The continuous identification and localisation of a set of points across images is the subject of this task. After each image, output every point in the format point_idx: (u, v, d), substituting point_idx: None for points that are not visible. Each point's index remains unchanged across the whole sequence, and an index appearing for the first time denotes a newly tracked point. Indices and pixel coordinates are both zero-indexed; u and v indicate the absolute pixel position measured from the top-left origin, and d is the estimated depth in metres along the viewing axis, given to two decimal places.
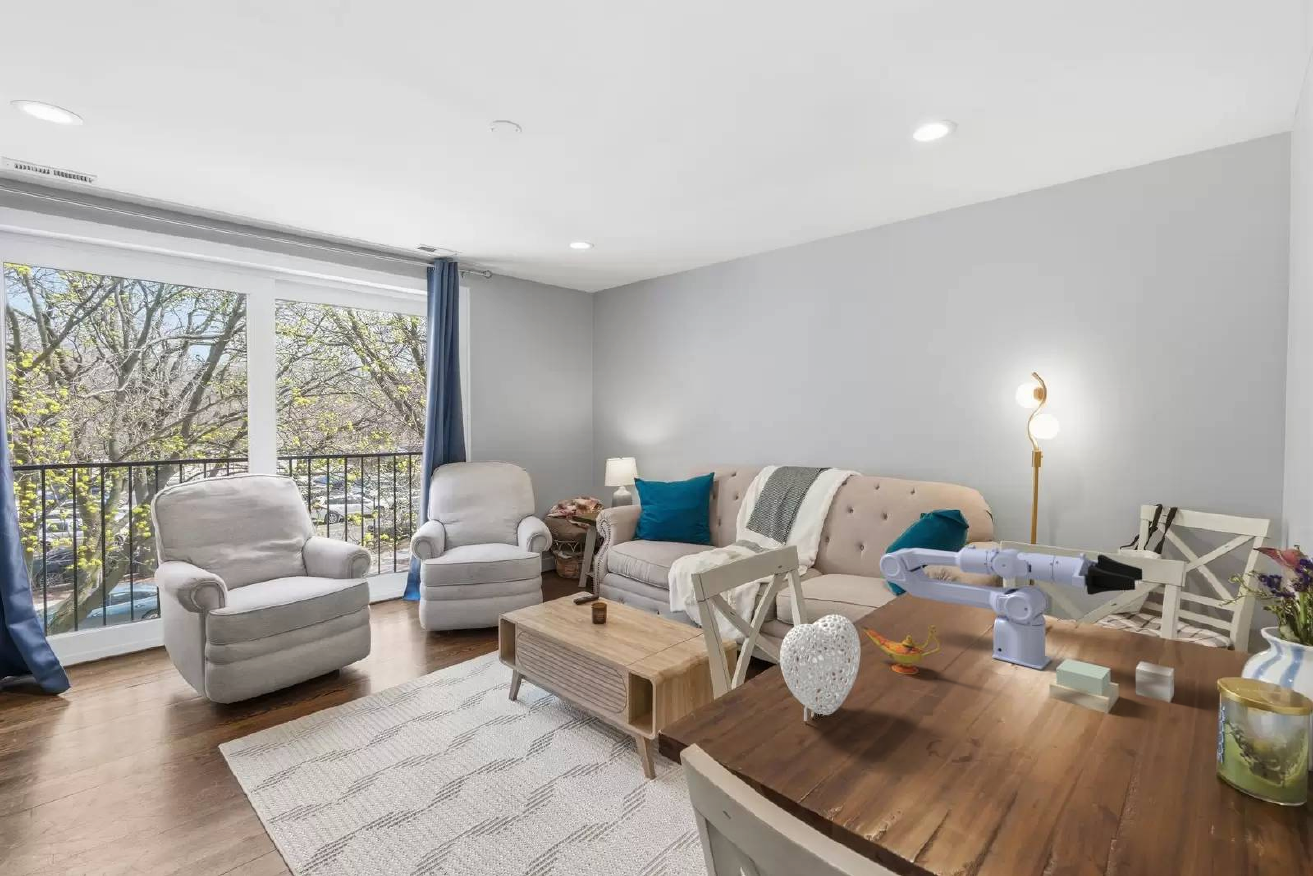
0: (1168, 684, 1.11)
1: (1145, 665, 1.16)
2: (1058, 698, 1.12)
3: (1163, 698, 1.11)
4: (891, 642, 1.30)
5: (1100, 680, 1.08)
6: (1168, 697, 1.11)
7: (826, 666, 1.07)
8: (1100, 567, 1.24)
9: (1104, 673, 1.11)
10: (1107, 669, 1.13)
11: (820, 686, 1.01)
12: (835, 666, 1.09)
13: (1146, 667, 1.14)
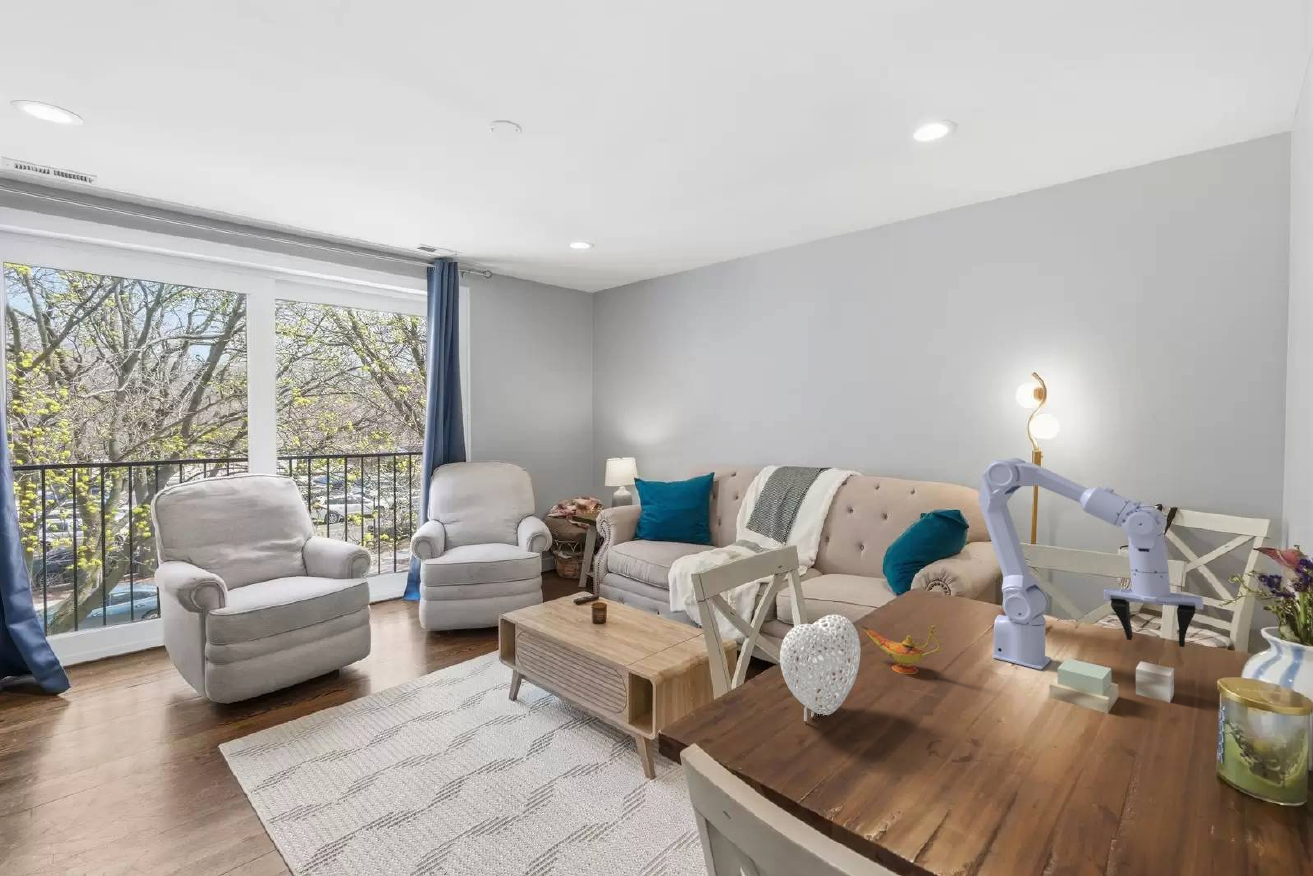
0: (1168, 684, 1.11)
1: (1145, 665, 1.16)
2: (1058, 698, 1.12)
3: (1163, 698, 1.11)
4: (891, 642, 1.30)
5: (1101, 680, 1.09)
6: (1168, 697, 1.11)
7: (826, 666, 1.07)
8: None
9: (1105, 673, 1.11)
10: (1108, 669, 1.13)
11: (820, 686, 1.01)
12: (835, 666, 1.09)
13: (1146, 668, 1.14)
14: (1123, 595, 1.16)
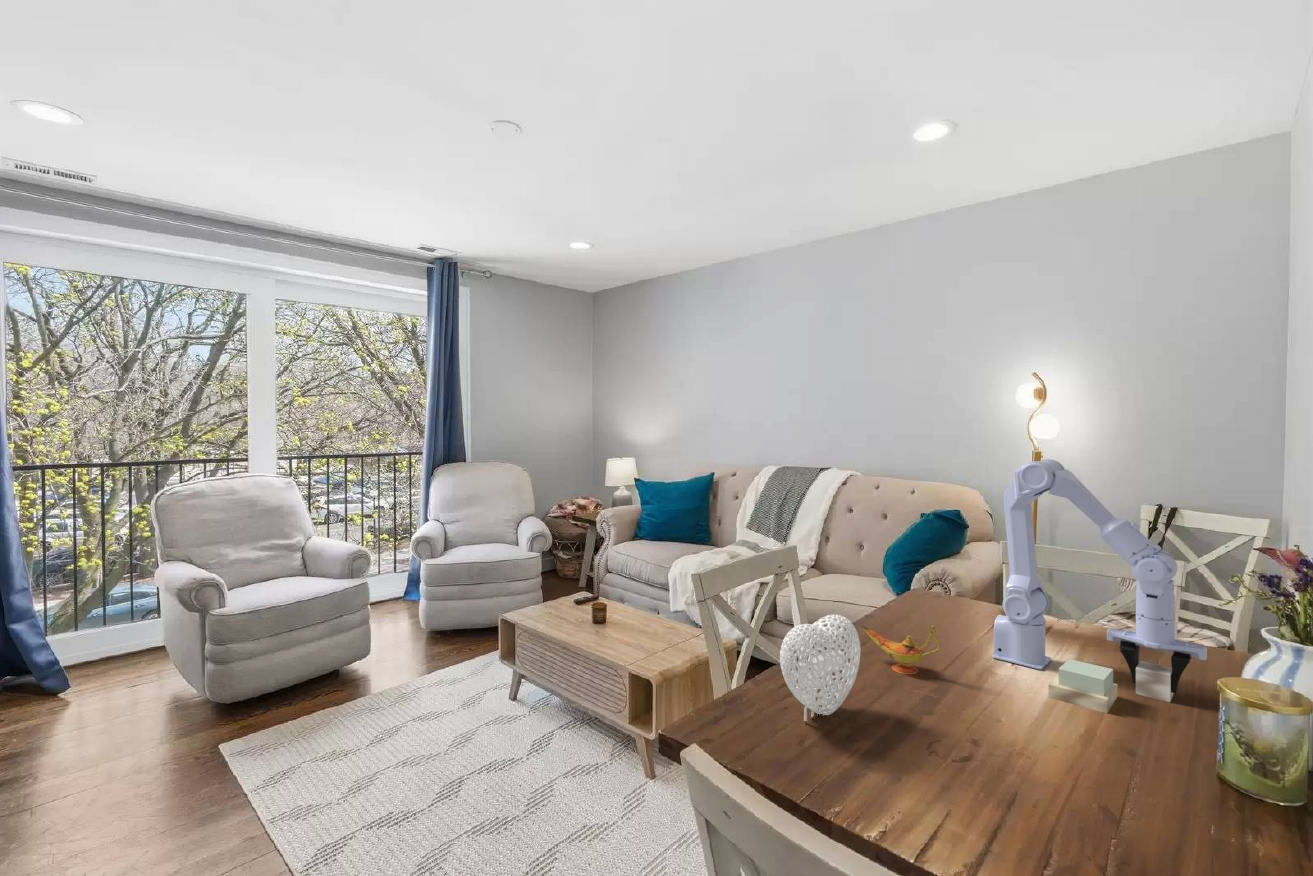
0: (1168, 683, 1.11)
1: (1145, 665, 1.16)
2: (1057, 698, 1.12)
3: (1163, 697, 1.11)
4: (891, 642, 1.30)
5: (1102, 681, 1.08)
6: (1168, 696, 1.11)
7: (826, 666, 1.07)
8: None
9: (1106, 674, 1.11)
10: (1110, 670, 1.12)
11: (820, 686, 1.01)
12: (835, 666, 1.09)
13: (1146, 667, 1.14)
14: (1126, 638, 1.16)
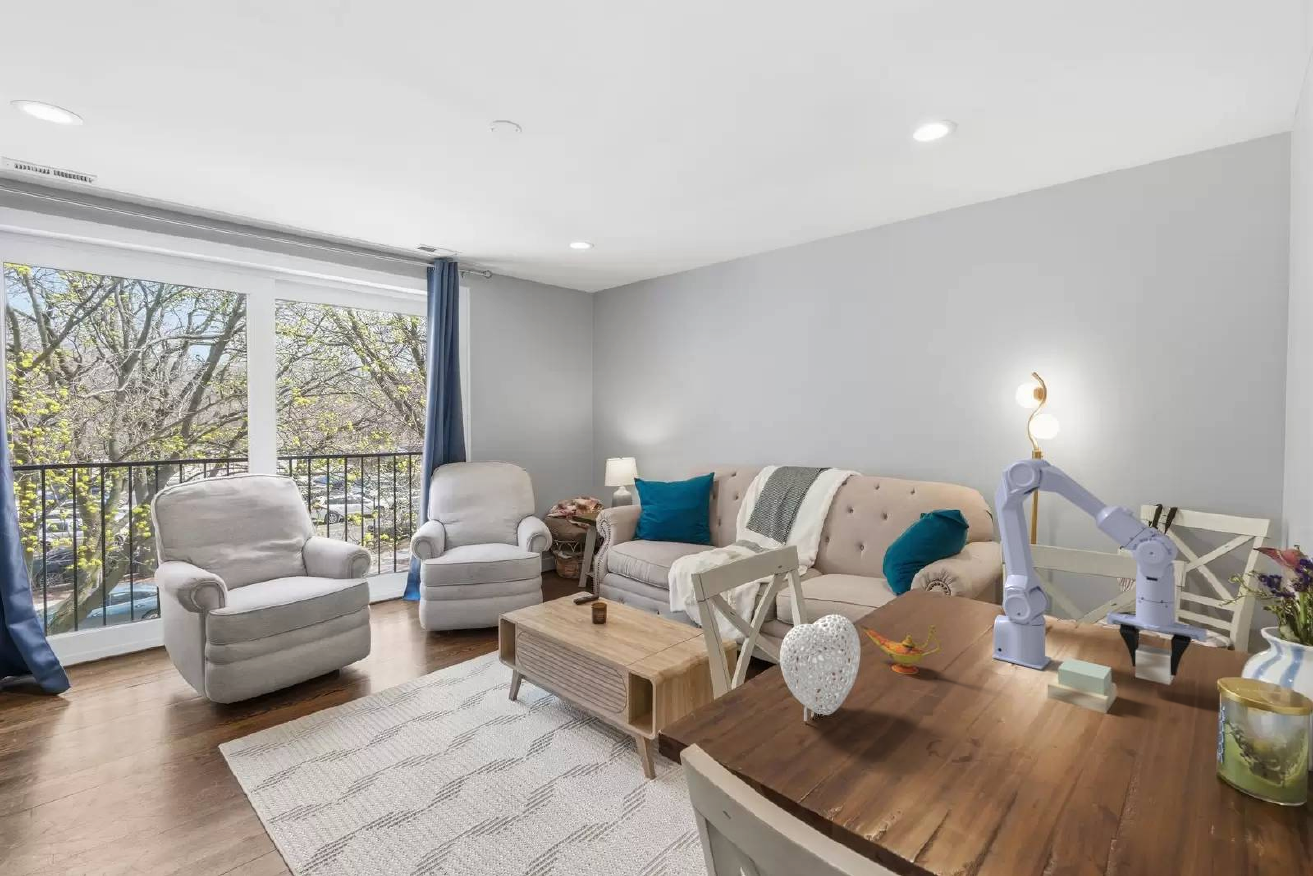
0: (1168, 666, 1.11)
1: (1145, 648, 1.15)
2: (1056, 698, 1.12)
3: (1163, 680, 1.11)
4: (891, 642, 1.30)
5: (1102, 680, 1.09)
6: (1168, 679, 1.11)
7: (826, 666, 1.07)
8: None
9: (1105, 672, 1.11)
10: (1108, 668, 1.13)
11: (820, 686, 1.01)
12: (835, 666, 1.09)
13: (1145, 650, 1.14)
14: (1126, 621, 1.16)
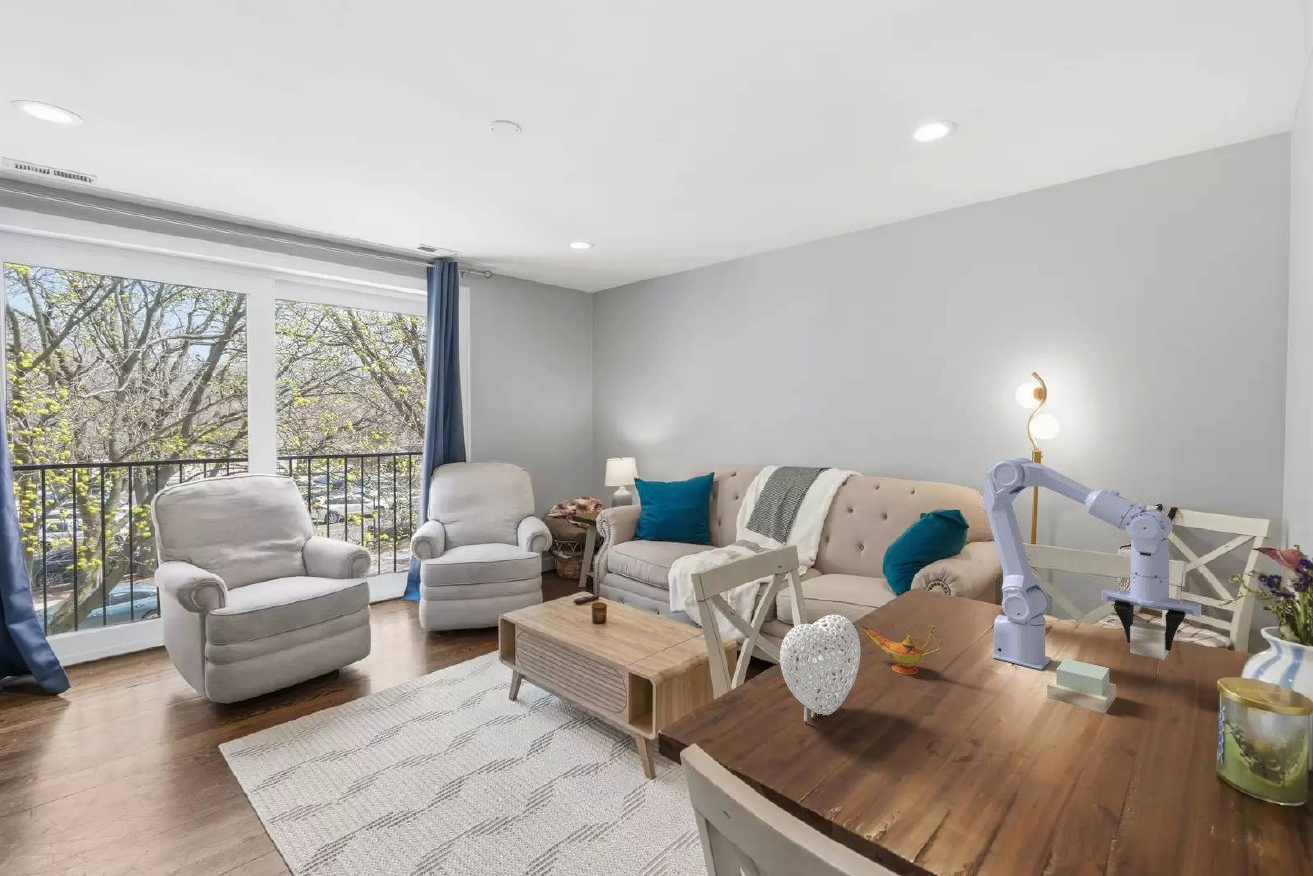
0: (1162, 641, 1.11)
1: (1139, 624, 1.15)
2: (1056, 699, 1.12)
3: (1157, 655, 1.11)
4: (891, 642, 1.30)
5: (1100, 681, 1.08)
6: (1162, 654, 1.11)
7: (826, 666, 1.07)
8: None
9: (1104, 673, 1.11)
10: (1106, 669, 1.13)
11: (820, 686, 1.01)
12: (835, 666, 1.09)
13: (1140, 626, 1.14)
14: (1120, 597, 1.15)
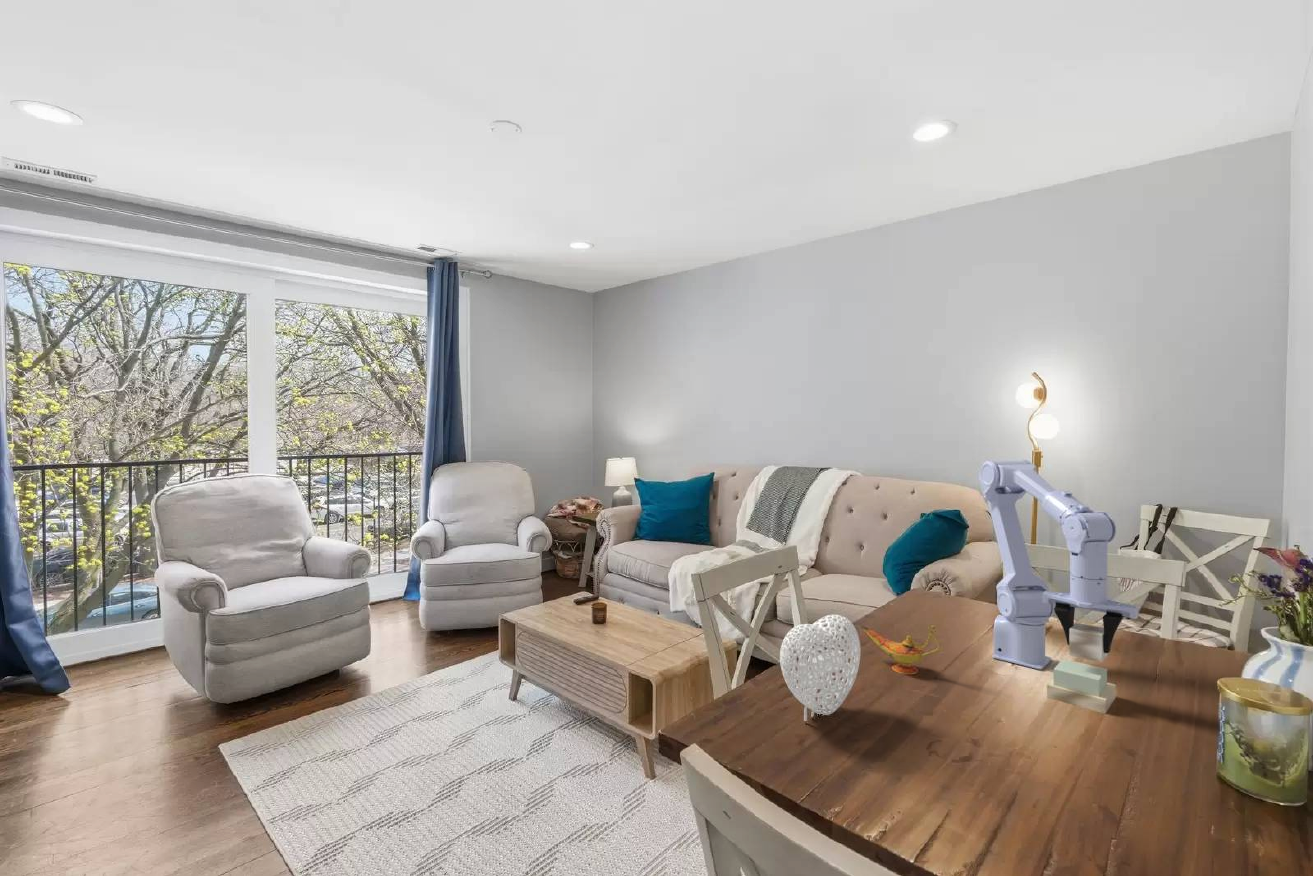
0: (1100, 643, 1.10)
1: (1079, 626, 1.15)
2: (1056, 699, 1.12)
3: (1095, 657, 1.10)
4: (891, 642, 1.30)
5: (1097, 681, 1.08)
6: (1100, 656, 1.10)
7: (826, 666, 1.07)
8: None
9: (1101, 674, 1.11)
10: (1104, 670, 1.12)
11: (820, 686, 1.01)
12: (835, 666, 1.09)
13: (1079, 628, 1.13)
14: (1060, 599, 1.15)
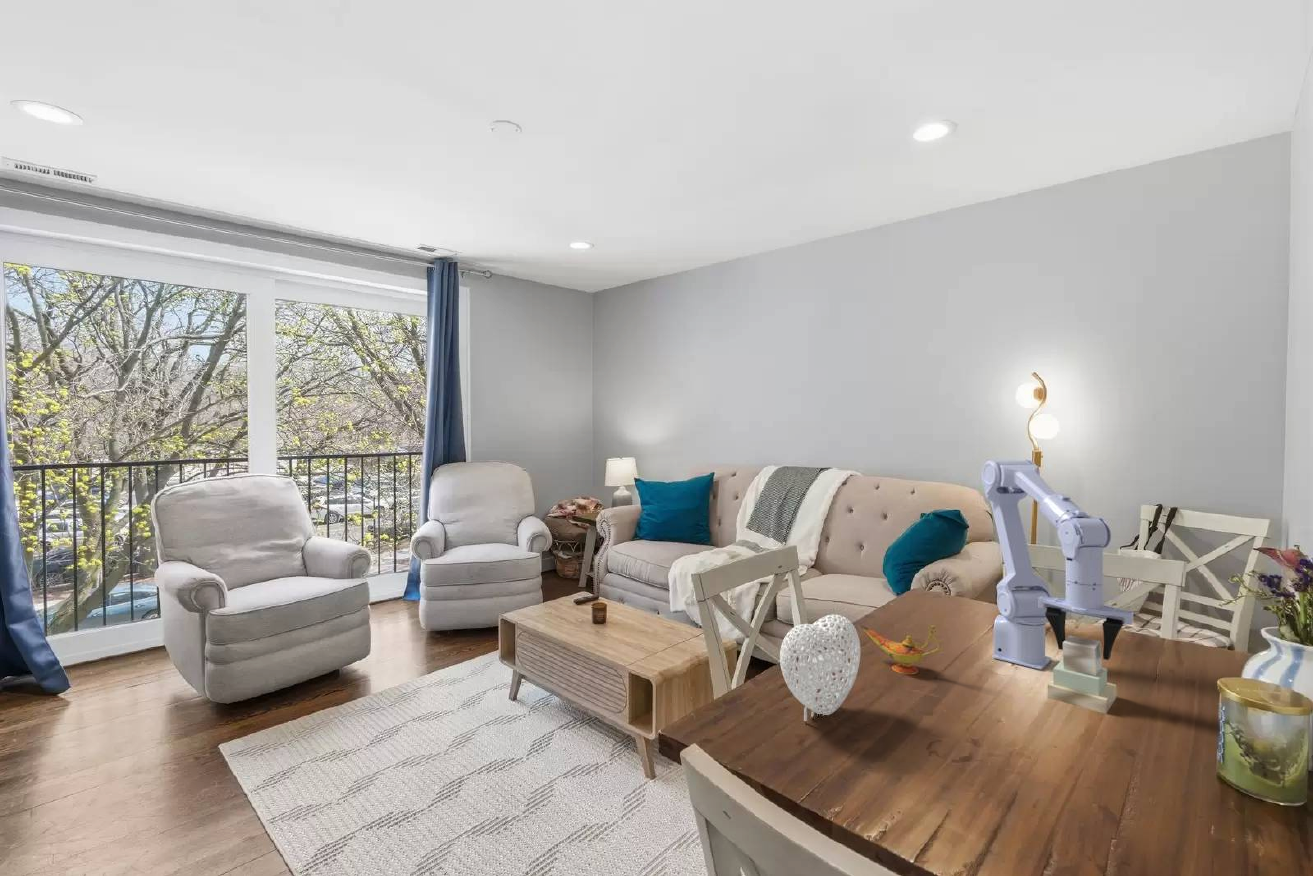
0: (1093, 657, 1.10)
1: (1072, 639, 1.15)
2: (1056, 699, 1.12)
3: (1089, 671, 1.10)
4: (891, 642, 1.30)
5: (1097, 680, 1.09)
6: (1094, 670, 1.10)
7: (826, 666, 1.07)
8: None
9: (1101, 673, 1.11)
10: (1104, 669, 1.13)
11: (820, 686, 1.01)
12: (835, 666, 1.09)
13: (1073, 641, 1.13)
14: (1056, 604, 1.15)
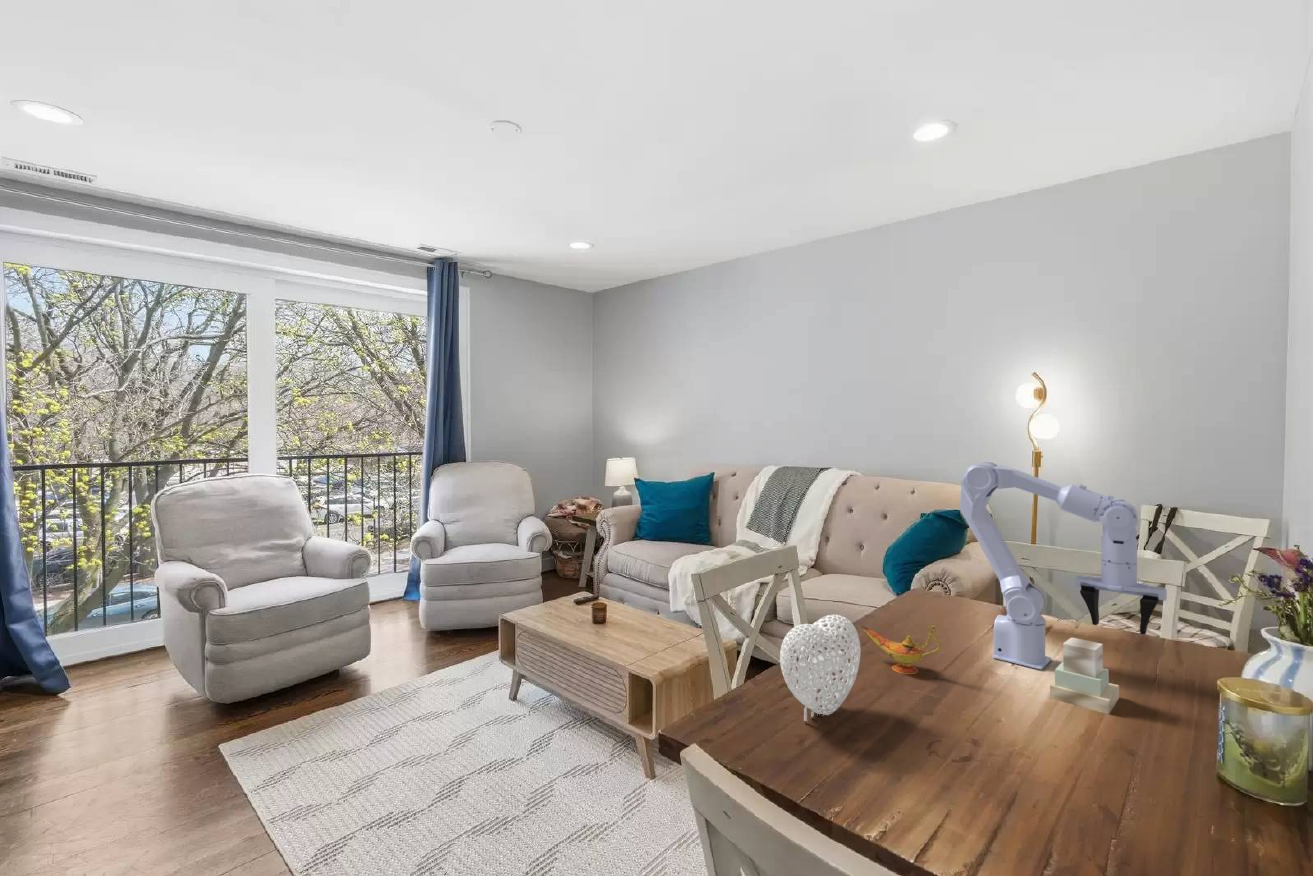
0: (1093, 658, 1.09)
1: (1074, 641, 1.14)
2: (1059, 699, 1.12)
3: (1089, 672, 1.10)
4: (891, 642, 1.30)
5: (1098, 681, 1.08)
6: (1093, 672, 1.09)
7: (826, 666, 1.07)
8: None
9: (1102, 674, 1.10)
10: (1105, 670, 1.12)
11: (820, 686, 1.01)
12: (835, 666, 1.09)
13: (1074, 643, 1.13)
14: (1092, 583, 1.22)
